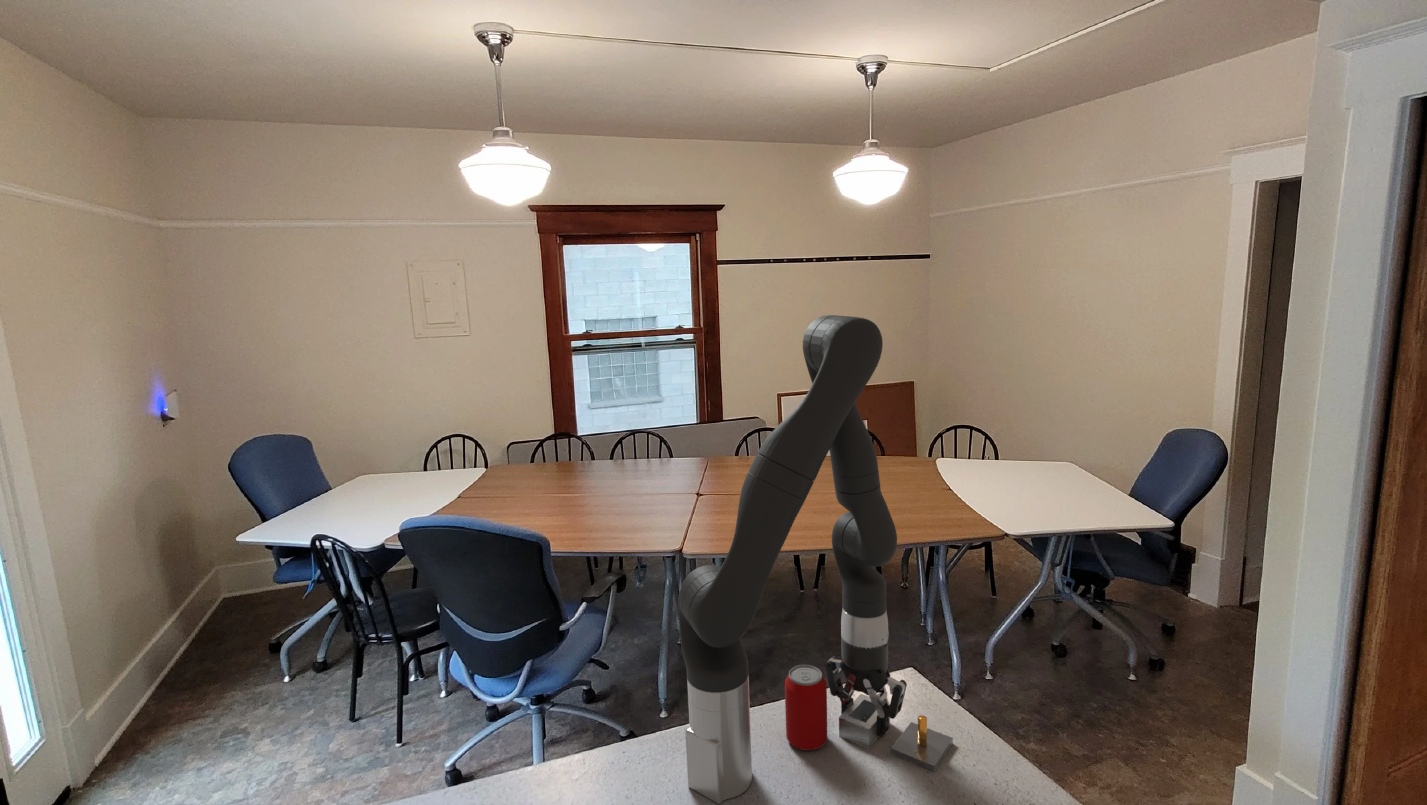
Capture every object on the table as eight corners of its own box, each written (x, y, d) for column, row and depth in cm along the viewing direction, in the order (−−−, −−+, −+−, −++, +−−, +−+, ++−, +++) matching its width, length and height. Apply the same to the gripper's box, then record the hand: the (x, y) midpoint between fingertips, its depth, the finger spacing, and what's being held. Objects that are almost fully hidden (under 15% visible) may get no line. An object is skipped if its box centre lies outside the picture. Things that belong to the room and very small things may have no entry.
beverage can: (826, 727, 113) (825, 662, 111) (829, 755, 107) (827, 686, 105) (786, 726, 114) (784, 662, 112) (786, 753, 107) (784, 685, 105)
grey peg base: (934, 772, 102) (934, 740, 101) (891, 753, 106) (891, 722, 105) (952, 743, 108) (953, 713, 107) (911, 727, 112) (911, 698, 111)
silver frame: (869, 749, 108) (869, 729, 107) (839, 736, 111) (838, 717, 110) (890, 723, 114) (890, 704, 113) (861, 711, 117) (860, 693, 116)
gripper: (814, 631, 111) (816, 723, 114) (896, 657, 102) (896, 757, 105) (836, 613, 117) (837, 701, 120) (915, 636, 108) (915, 731, 111)
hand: (865, 726), depth 112 cm, fingers closed on silver frame, 5 cm apart
